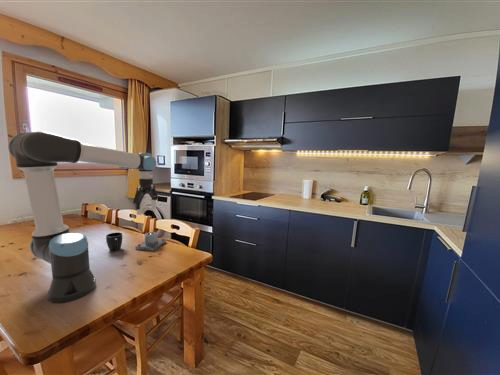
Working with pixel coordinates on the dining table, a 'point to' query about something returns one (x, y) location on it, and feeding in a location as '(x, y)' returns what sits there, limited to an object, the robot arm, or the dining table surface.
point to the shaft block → (150, 247)
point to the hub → (151, 238)
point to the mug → (114, 241)
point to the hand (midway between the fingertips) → (146, 212)
